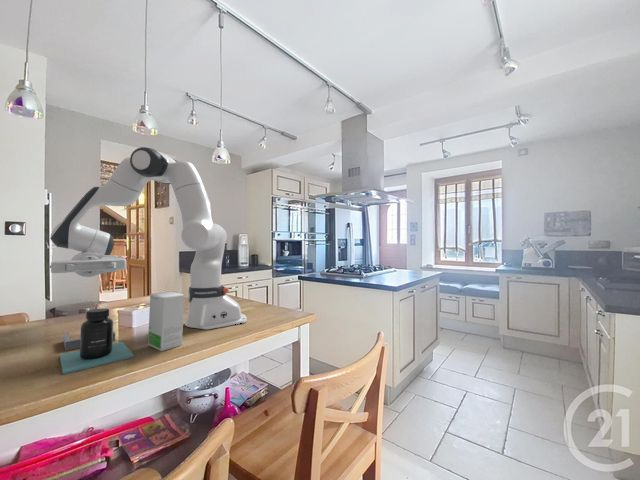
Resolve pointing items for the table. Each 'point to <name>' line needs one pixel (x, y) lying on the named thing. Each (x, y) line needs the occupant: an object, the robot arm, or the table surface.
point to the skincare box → (166, 320)
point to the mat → (75, 363)
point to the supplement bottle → (96, 334)
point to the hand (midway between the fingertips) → (93, 266)
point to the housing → (74, 342)
